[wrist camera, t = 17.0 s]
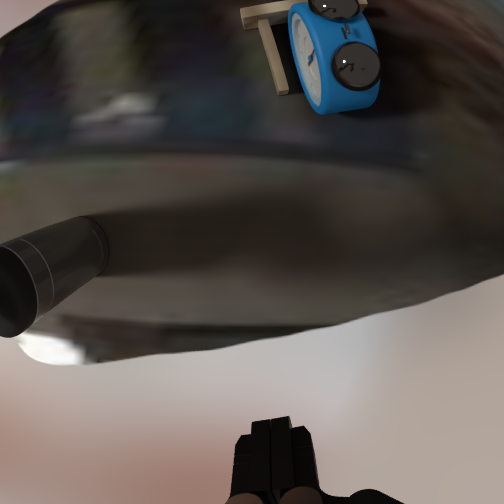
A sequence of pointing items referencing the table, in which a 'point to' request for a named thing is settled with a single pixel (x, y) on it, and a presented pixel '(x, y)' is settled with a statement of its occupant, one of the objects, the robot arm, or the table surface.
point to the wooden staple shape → (262, 20)
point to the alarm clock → (334, 55)
